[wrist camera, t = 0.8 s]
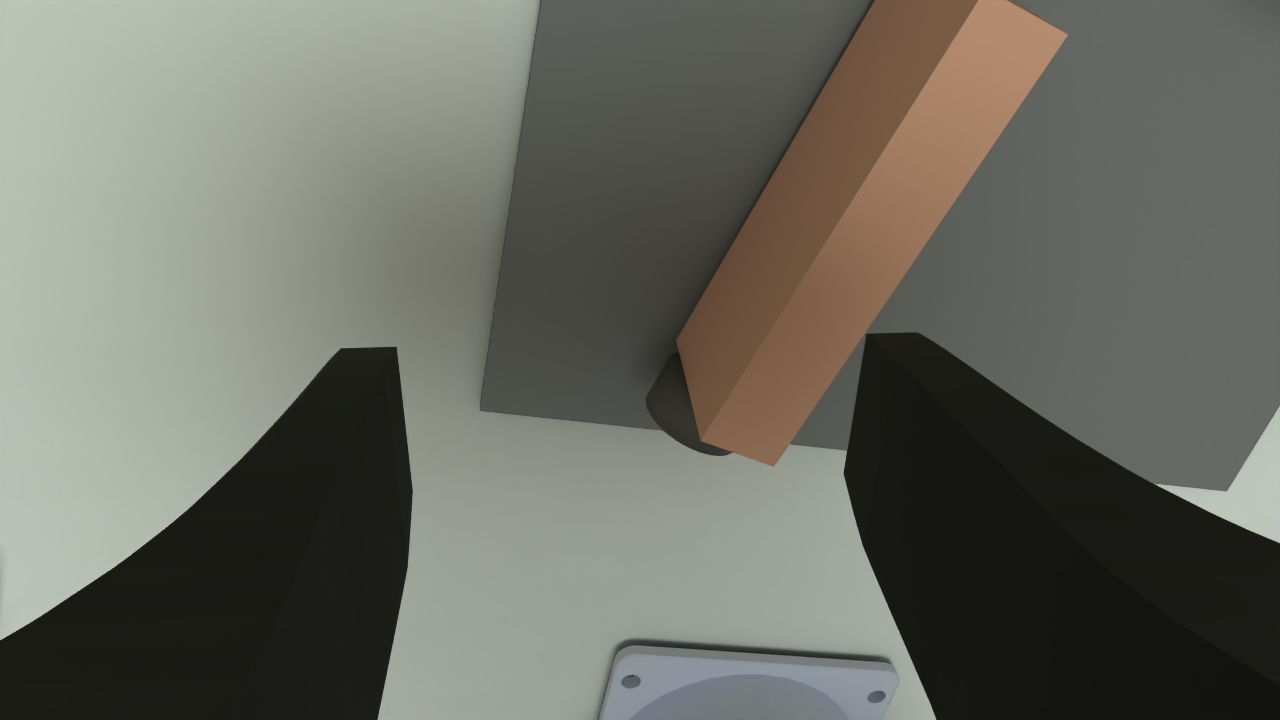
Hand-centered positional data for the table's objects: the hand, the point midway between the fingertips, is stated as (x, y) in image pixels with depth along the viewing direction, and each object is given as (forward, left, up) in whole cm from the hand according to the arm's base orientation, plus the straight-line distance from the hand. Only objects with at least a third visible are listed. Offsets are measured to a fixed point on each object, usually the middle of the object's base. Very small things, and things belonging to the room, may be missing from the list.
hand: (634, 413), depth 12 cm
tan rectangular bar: (-1, -4, -9) cm, 10 cm away
